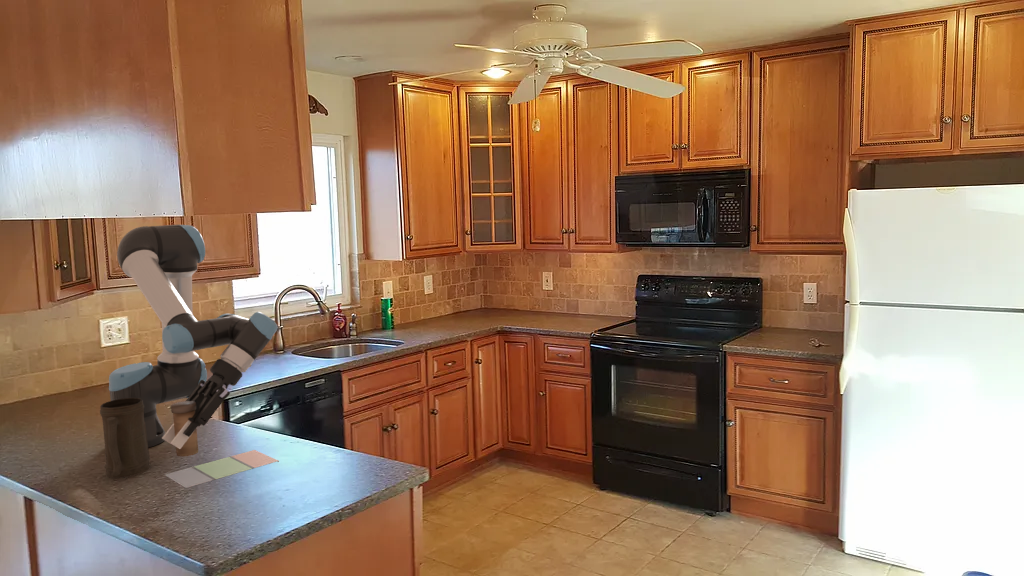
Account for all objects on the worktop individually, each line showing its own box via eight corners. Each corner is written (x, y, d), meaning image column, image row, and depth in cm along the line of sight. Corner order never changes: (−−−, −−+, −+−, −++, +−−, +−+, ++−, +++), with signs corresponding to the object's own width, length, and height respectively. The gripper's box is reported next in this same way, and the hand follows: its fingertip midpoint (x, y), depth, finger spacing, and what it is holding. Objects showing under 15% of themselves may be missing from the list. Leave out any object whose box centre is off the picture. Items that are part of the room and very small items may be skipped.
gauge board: (164, 479, 183) (164, 474, 183) (255, 454, 200) (254, 449, 200) (186, 493, 173) (185, 487, 173) (279, 465, 190) (278, 460, 190)
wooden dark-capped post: (171, 453, 179) (167, 404, 178) (194, 447, 183) (190, 399, 182) (180, 458, 175) (175, 408, 174) (203, 452, 179) (199, 403, 178)
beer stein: (109, 471, 191) (100, 399, 188) (154, 464, 195) (146, 393, 191) (99, 495, 177) (89, 417, 173) (148, 487, 181) (139, 411, 177)
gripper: (257, 379, 182) (197, 459, 172) (227, 369, 194) (169, 443, 185) (235, 362, 177) (172, 443, 168) (206, 353, 190) (145, 428, 180)
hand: (170, 443), depth 176 cm, fingers closed on wooden dark-capped post, 5 cm apart
